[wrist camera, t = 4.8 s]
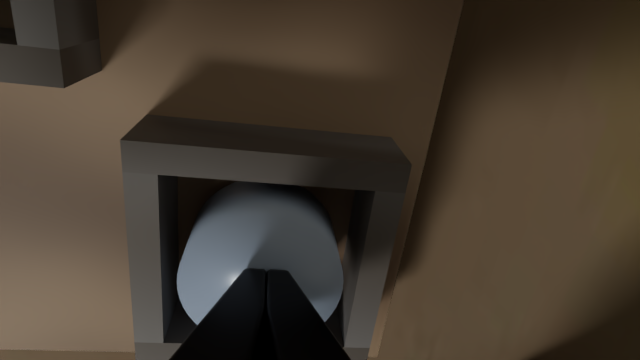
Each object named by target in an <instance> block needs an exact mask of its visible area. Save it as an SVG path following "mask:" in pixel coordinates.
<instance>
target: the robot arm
mask: <svg viewBox="0 0 640 360" xmlns="http://www.w3.org/2000/svg"><path fill="white" fill-rule="evenodd" d="M169 360H351V359H350V357H349V356H348V354H347V353H346V352H345V350H344V349H343V347H342V346H341V344H340V343H339V342H338V340H337V339H336V337H335V336H334V335H333V333H332V332H331V330H330V329H329V327H328V326H327V325H326V323H325V322H324V320H323V319H322V318H321V316H320V315H319V313H318V312H317V311H316V309H315V308H314V306H313V305H312V303H311V302H310V301H309V299H308V298H307V296H306V295H305V294H304V292H303V291H302V289H301V288H300V286H299V285H298V284H297V282H296V281H295V279H294V278H293V277H292V275H291V274H290V272H289V271H287V270H277V269H269V270H268V271H267V273H266V270H264V269H256V268H246V269H244V270H243V271H242V272H241V274H240V275H239V276H238V277H237V278H236V280H235V281H234V282H233V283H232V284H231V286H230V287H229V288H228V289H227V290H226V292H225V293H224V294H223V295H222V296H221V298H220V299H219V300H218V301H217V302H216V304H215V305H214V306H213V307H212V308H211V310H210V311H209V312H208V313H207V314H206V316H205V317H204V318H203V319H202V320H201V322H200V323H199V324H198V325H197V326H196V327H195V329H194V330H193V331H192V332H191V333H190V335H189V336H188V337H187V338H186V339H185V341H184V342H183V343H182V344H181V345H180V347H179V348H178V349H177V350H176V351H175V353H174V354H173V355H172V356H171V357H170V359H169Z"/></svg>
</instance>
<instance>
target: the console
mask: <svg viewBox="0 0 640 360" xmlns="http://www.w3.org/2000/svg"><path fill="white" fill-rule="evenodd" d="M463 3H464V0H0V349H6V350H54V351H101V352H135V358H136V360H169V359H170V357H171V356H172V355H173V354H174V353H175V351H176V350H177V349H178V348H179V347H180V345H181V344H182V343H183V342H184V341H185V339H186V338H187V337H188V336H189V335H190V333H191V332H192V331H193V330H194V329H195V327H196V326H197V324H196V323H194V321H193V320H192V319H191V318H190V317H189V316H188V314H187V313H186V311H185V309H184V308H183V306H182V303H181V301H180V298H179V295H178V290H177V273H178V269H179V264H180V262H181V259H182V256H183V253H184V250H185V248H186V245H187V242H188V239H189V236H190V234H191V231H192V228H193V225H194V222H195V220H196V217H197V215H198V213H199V211H200V210H201V208H202V206H203V205H204V204H205V203H206V201H207V200H208V199H209V198H210V197H211V196H213V195H214V194H215V193H216V192H218V191H219V190H220V189H222V188H224V187H226V186H228V185H230V184H232V183H234V182H237V181H247V182H260V183H274V184H287V185H299V186H301V187H303V188H305V189H306V190H308V191H309V192H310V193H312V194H313V195H314V196H315V197H316V198H317V199H318V200H319V201H320V202H321V203H322V205H323V206H324V207H325V209H326V211H327V212H328V214H329V216H330V219H331V222H332V226H333V230H334V235H335V239H336V243H337V248H338V252H339V257H340V261H341V265H342V270H343V280H344V282H343V290H342V294H341V298H340V300H339V302H338V305H337V307H336V308H335V310H334V312H333V313H332V314H331V316H330V317H329V318H328V319H327V320H326V321H325V323H326V325H327V326H328V327H329V329H330V330H331V332H332V333H333V335H334V336H335V337H336V339H337V340H338V342H339V343H340V344H341V346H342V347H343V349H344V350H345V352H346V353H347V354H348V356H349V357H350V359H351V360H367V358H368V357H377V356H378V352H379V348H380V344H381V340H382V336H383V331H384V327H385V323H386V319H387V315H388V311H389V307H390V303H391V299H392V295H393V290H394V286H395V282H396V278H397V274H398V270H399V266H400V262H401V258H402V254H403V249H404V245H405V241H406V237H407V233H408V229H409V225H410V221H411V217H412V213H413V208H414V204H415V200H416V196H417V192H418V188H419V184H420V180H421V176H422V171H423V167H424V163H425V159H426V155H427V151H428V147H429V143H430V139H431V135H432V130H433V126H434V122H435V118H436V114H437V110H438V106H439V102H440V98H441V94H442V89H443V85H444V81H445V77H446V73H447V69H448V65H449V61H450V57H451V53H452V48H453V44H454V40H455V36H456V32H457V28H458V24H459V20H460V16H461V11H462V7H463Z"/></svg>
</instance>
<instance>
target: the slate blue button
mask: <svg viewBox="0 0 640 360" xmlns="http://www.w3.org/2000/svg"><path fill="white" fill-rule="evenodd" d="M246 268H256V269H264V270H266V273H267V271H268V270H269V269H277V270H287V271H289V272H290V274H291V275H292V277H293V278H294V279H295V281H296V282H297V284H298V285H299V286H300V288H301V289H302V291H303V292H304V294H305V295H306V296H307V298H308V299H309V301H310V302H311V303H312V305H313V306H314V308H315V309H316V311H317V312H318V313H319V315H320V316H321V318H322V319H323V320H324V322H325V321H326V320H327V319H328V318H329V317H330V316H331V314H332V313H333V312H334V310H335V308H336V307H337V305H338V302H339V300H340V298H341V294H342V290H343V282H344V280H343V270H342V265H341V261H340V257H339V252H338V248H337V243H336V239H335V235H334V230H333V226H332V222H331V219H330V216H329V214H328V212H327V211H326V209H325V207H324V206H323V205H322V203H321V202H320V201H319V200H318V199H317V198H316V197H315V196H314V195H313V194H312V193H310V192H309V191H308V190H306V189H305V188H303V187H301V186H299V185H287V184H274V183H260V182H247V181H237V182H234V183H232V184H230V185H228V186H226V187H224V188H222V189H220V190H219V191H218V192H216V193H215V194H214V195H213V196H211V197H210V198H209V199H208V200H207V201H206V203H205V204H204V205H203V206H202V208H201V210H200V211H199V213H198V215H197V217H196V220H195V222H194V225H193V228H192V231H191V234H190V236H189V239H188V242H187V245H186V248H185V250H184V253H183V256H182V259H181V262H180V264H179V269H178V273H177V290H178V295H179V298H180V301H181V303H182V306H183V308H184V309H185V311H186V313H187V314H188V316H189V317H190V318H191V319H192V320H193V321H194V323H196V324H197V325H198V324H199V323H200V322H201V320H202V319H203V318H204V317H205V316H206V314H207V313H208V312H209V311H210V310H211V308H212V307H213V306H214V305H215V304H216V302H217V301H218V300H219V299H220V298H221V296H222V295H223V294H224V293H225V292H226V290H227V289H228V288H229V287H230V286H231V284H232V283H233V282H234V281H235V280H236V278H237V277H238V276H239V275H240V274H241V272H242V271H243V270H244V269H246Z"/></svg>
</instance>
